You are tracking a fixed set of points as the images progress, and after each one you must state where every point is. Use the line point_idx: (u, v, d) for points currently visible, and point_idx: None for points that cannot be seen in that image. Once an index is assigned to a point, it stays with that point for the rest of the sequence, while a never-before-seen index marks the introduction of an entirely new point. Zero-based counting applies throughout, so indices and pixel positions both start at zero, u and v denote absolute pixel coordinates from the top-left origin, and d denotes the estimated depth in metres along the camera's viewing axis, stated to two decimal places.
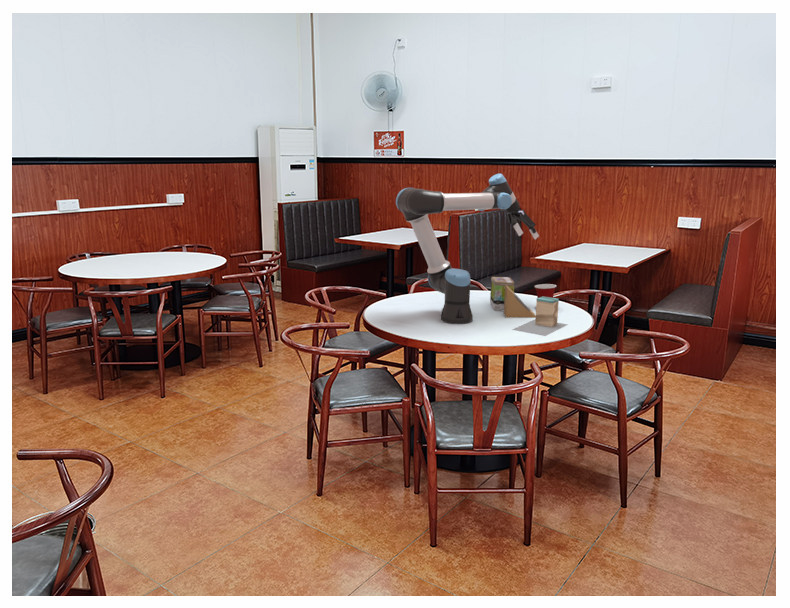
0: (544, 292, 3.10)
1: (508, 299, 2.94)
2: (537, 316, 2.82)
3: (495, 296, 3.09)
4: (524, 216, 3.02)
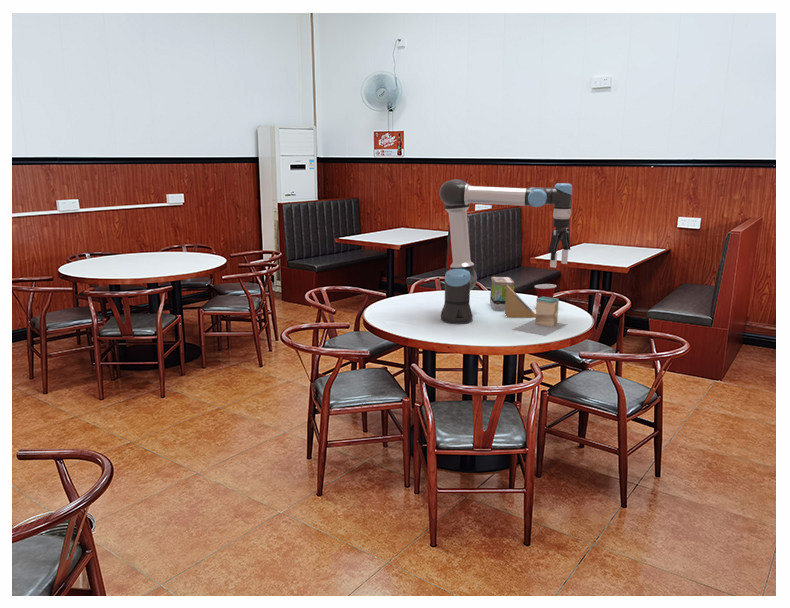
0: (544, 292, 3.10)
1: (509, 299, 2.94)
2: (537, 316, 2.82)
3: (495, 296, 3.09)
4: (553, 237, 2.77)
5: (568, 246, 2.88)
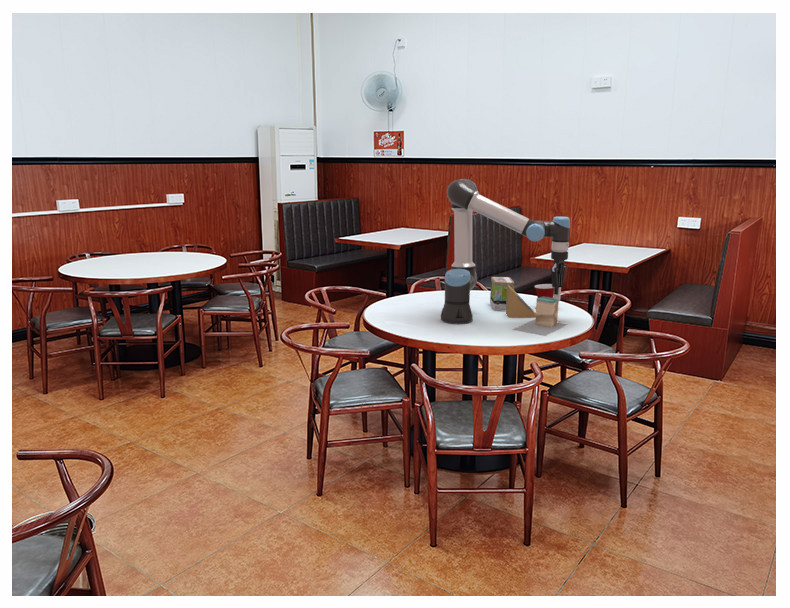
0: (544, 292, 3.10)
1: (511, 299, 2.94)
2: (537, 316, 2.82)
3: (495, 296, 3.09)
4: (553, 273, 2.82)
5: (561, 283, 2.88)
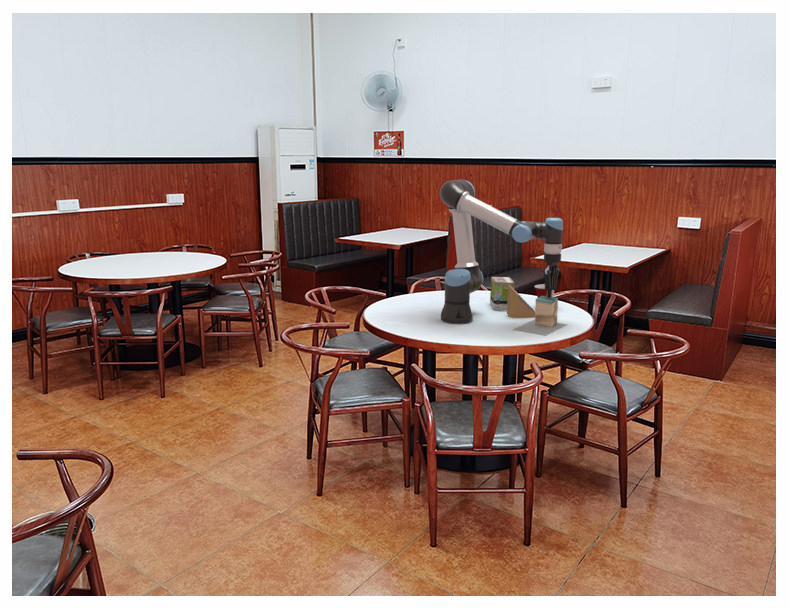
0: (544, 292, 3.10)
1: (512, 299, 2.94)
2: (537, 316, 2.82)
3: (495, 296, 3.09)
4: (545, 276, 2.77)
5: (554, 286, 2.83)
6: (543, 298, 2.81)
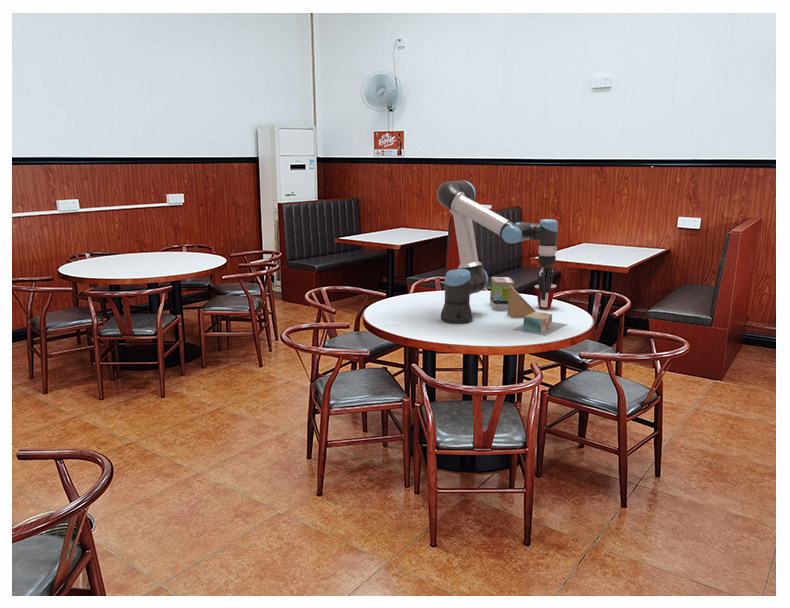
0: None
1: (513, 299, 2.93)
2: None
3: (495, 296, 3.09)
4: (539, 278, 2.72)
5: (549, 289, 2.78)
6: (528, 325, 2.72)
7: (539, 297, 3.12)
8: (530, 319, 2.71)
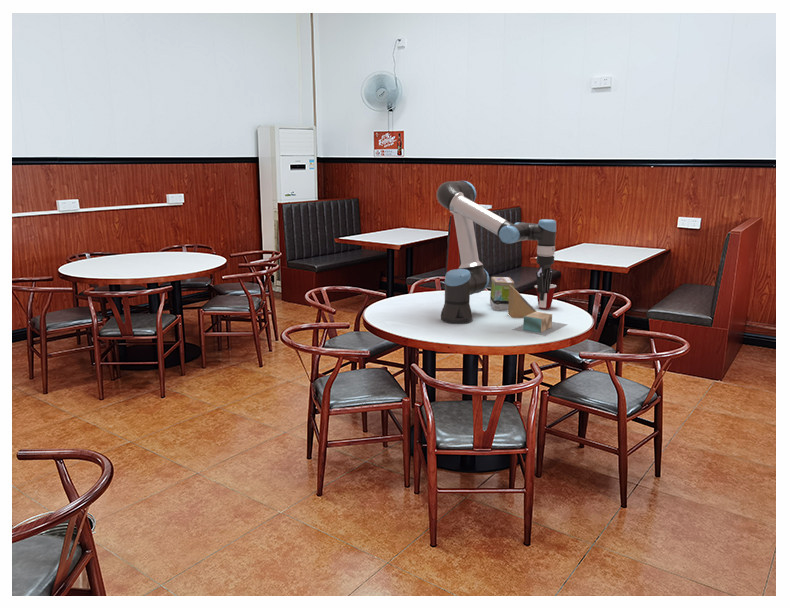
0: None
1: (514, 300, 2.93)
2: None
3: (495, 296, 3.09)
4: (538, 278, 2.71)
5: (547, 289, 2.77)
6: (528, 325, 2.72)
7: (539, 297, 3.12)
8: (530, 319, 2.71)
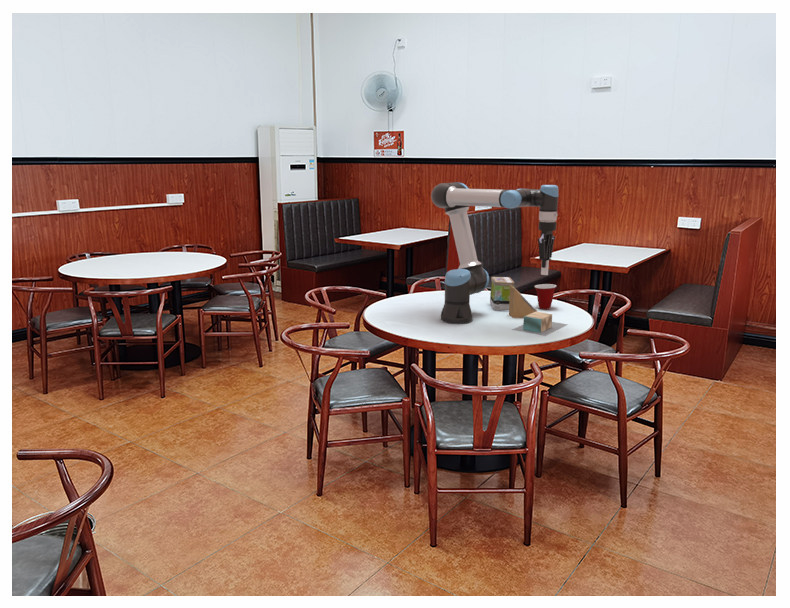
0: (544, 292, 3.10)
1: (515, 300, 2.93)
2: None
3: (495, 296, 3.09)
4: (540, 245, 2.68)
5: (549, 256, 2.73)
6: (528, 325, 2.72)
7: (539, 297, 3.12)
8: (530, 319, 2.71)
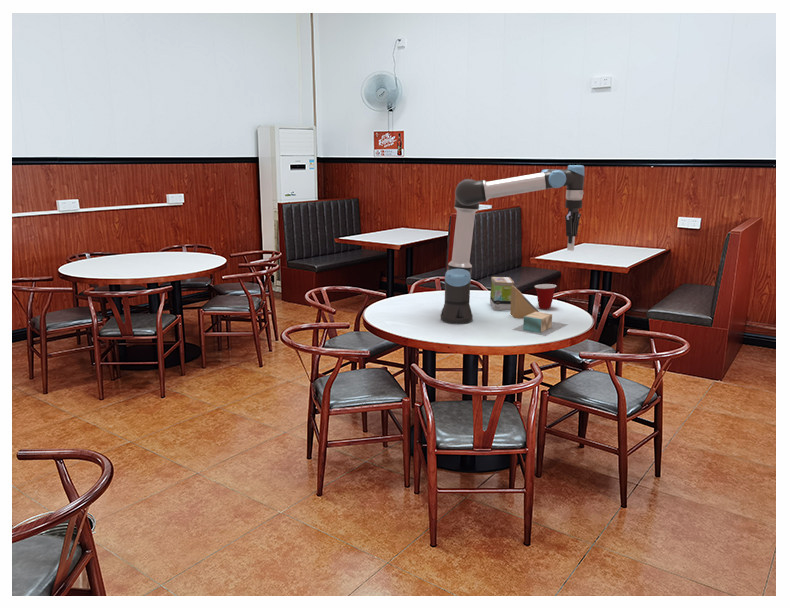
0: (544, 292, 3.10)
1: (517, 300, 2.93)
2: None
3: (495, 296, 3.09)
4: (567, 221, 2.84)
5: (575, 233, 2.90)
6: (528, 325, 2.72)
7: (539, 297, 3.12)
8: (530, 319, 2.71)
